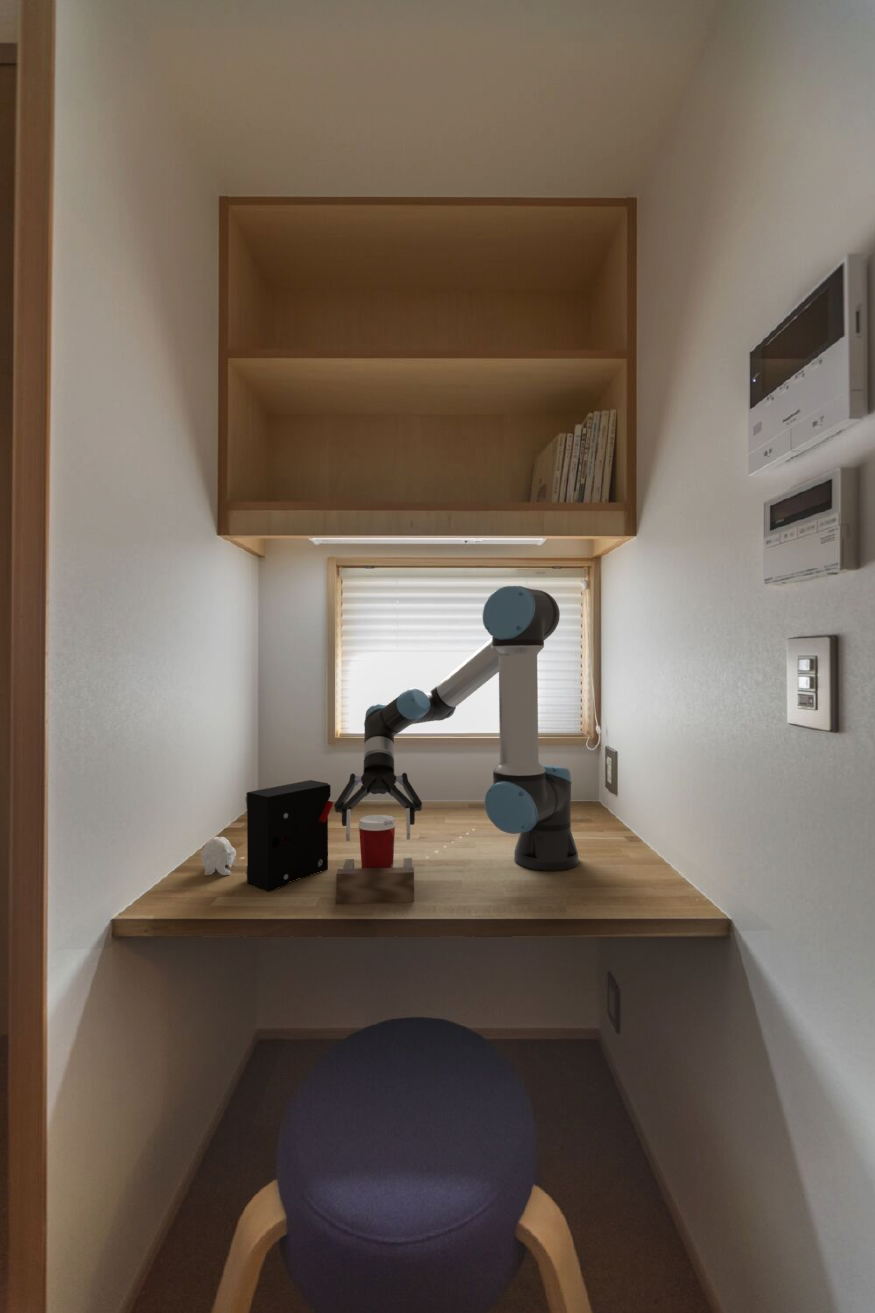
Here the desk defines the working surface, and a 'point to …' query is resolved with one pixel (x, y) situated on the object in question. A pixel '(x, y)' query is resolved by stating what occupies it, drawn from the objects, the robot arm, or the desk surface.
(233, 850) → the white figurine
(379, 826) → the coffee cup
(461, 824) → the desk surface
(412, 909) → the desk surface
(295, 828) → the electrical component
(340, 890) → the guide channel
